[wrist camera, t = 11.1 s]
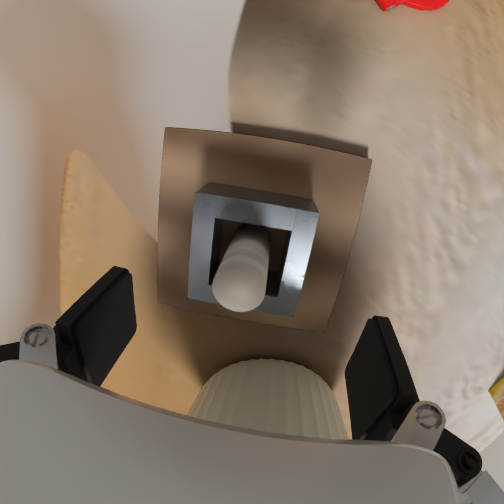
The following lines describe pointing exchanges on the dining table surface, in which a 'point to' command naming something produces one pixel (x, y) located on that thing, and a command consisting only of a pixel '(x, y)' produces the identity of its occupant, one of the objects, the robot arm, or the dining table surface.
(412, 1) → the tow hook
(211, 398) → the canister
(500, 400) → the beverage box
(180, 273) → the post plate
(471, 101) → the dining table surface
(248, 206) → the collar
